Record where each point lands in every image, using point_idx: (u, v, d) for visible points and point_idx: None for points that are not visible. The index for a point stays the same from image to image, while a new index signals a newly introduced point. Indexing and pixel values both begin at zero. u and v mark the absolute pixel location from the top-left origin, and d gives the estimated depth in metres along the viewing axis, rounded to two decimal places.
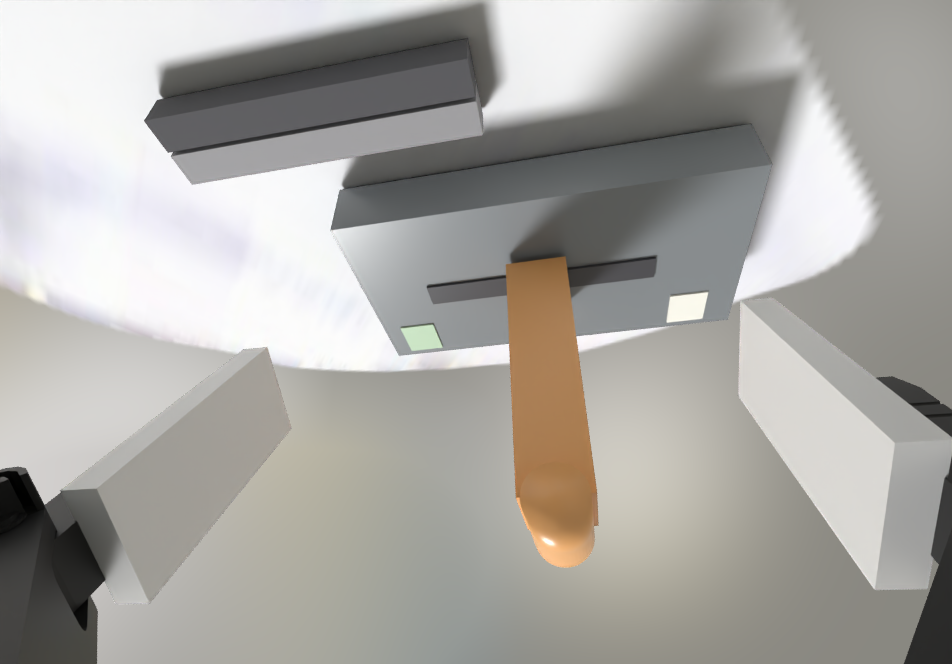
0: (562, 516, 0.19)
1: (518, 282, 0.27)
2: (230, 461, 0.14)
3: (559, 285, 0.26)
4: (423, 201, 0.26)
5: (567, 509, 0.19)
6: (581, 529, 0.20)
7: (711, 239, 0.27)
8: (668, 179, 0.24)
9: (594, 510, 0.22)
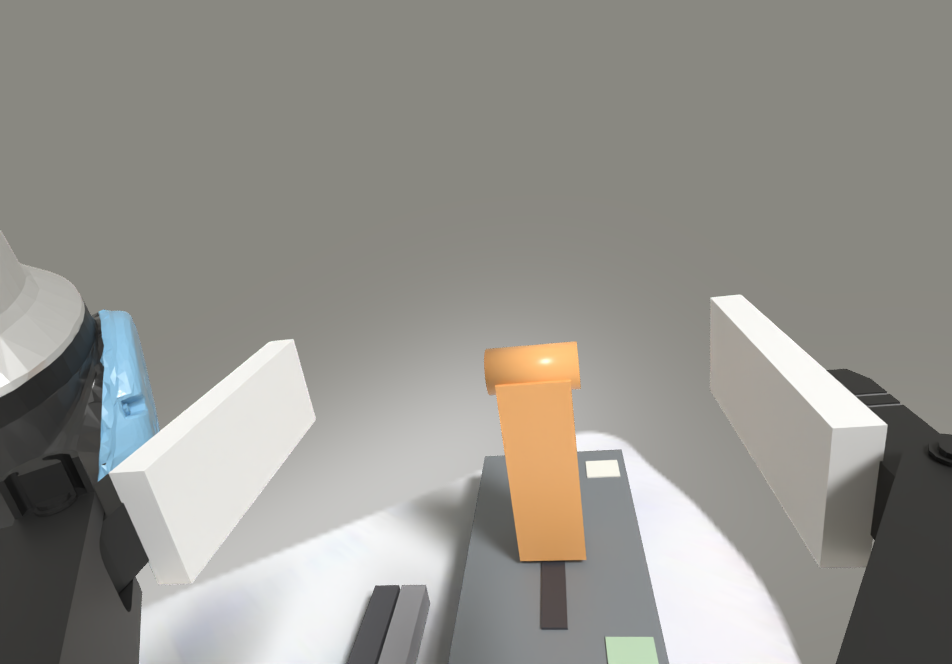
0: None
1: None
2: (261, 449, 0.14)
3: None
4: None
5: None
6: None
7: None
8: (479, 489, 0.41)
9: None
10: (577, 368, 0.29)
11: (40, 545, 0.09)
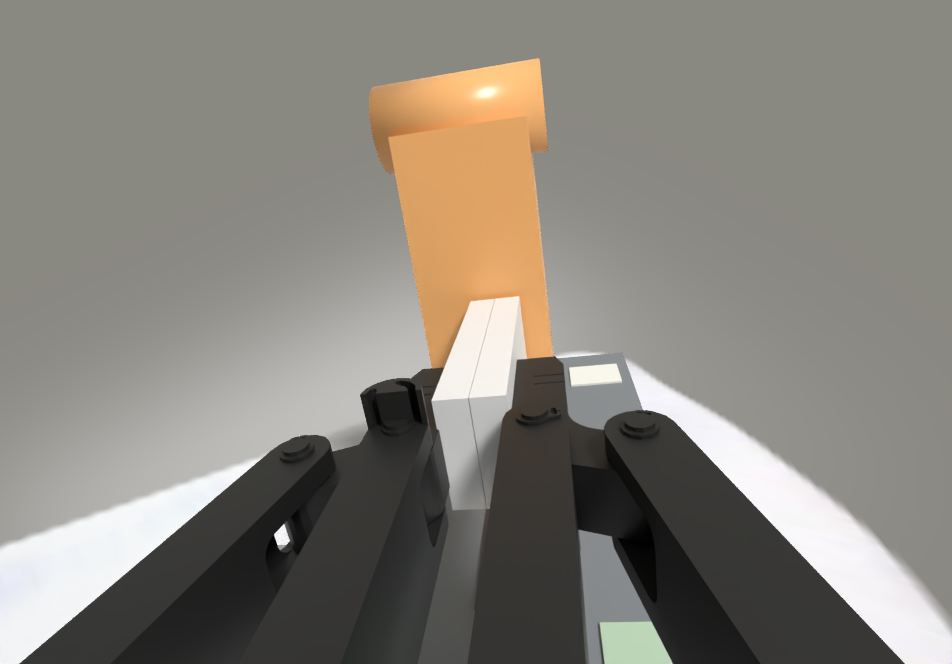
0: None
1: None
2: None
3: None
4: None
5: None
6: None
7: None
8: None
9: None
10: (539, 90, 0.15)
11: (378, 464, 0.09)
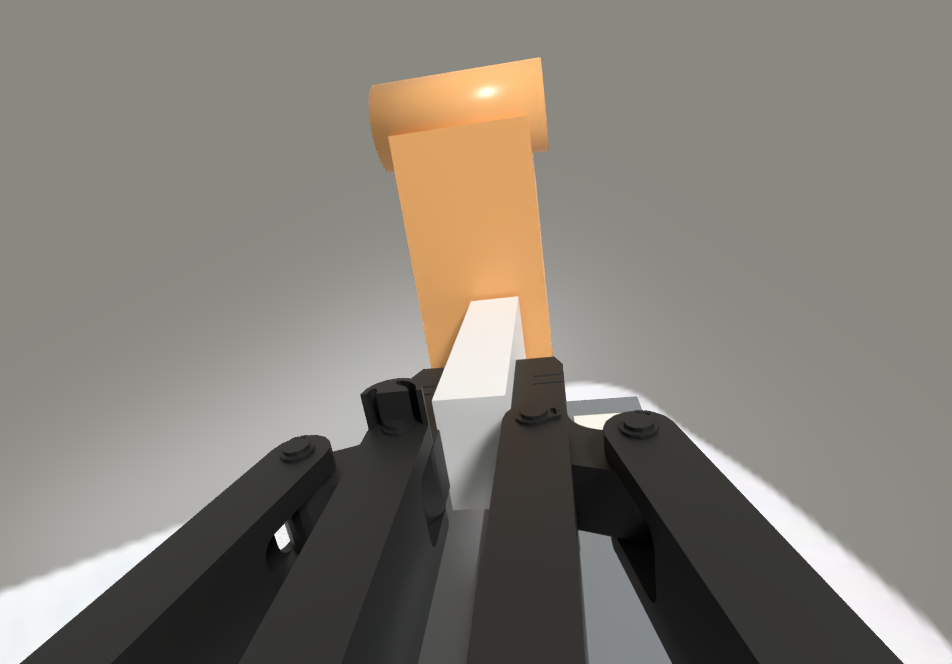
0: None
1: None
2: None
3: None
4: None
5: None
6: None
7: None
8: None
9: None
10: (540, 90, 0.15)
11: (378, 464, 0.09)
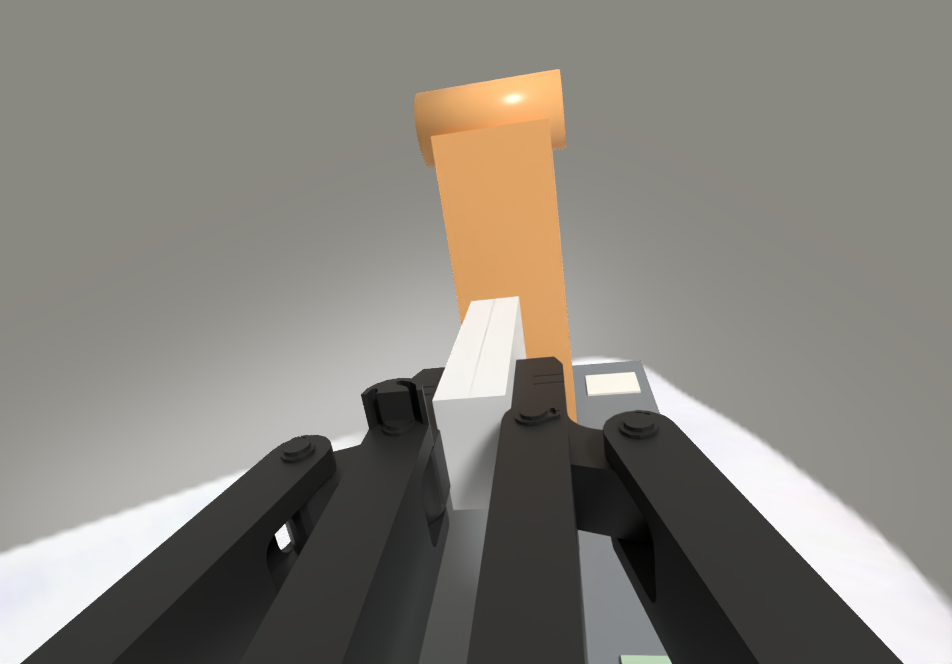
0: None
1: None
2: None
3: None
4: None
5: None
6: None
7: None
8: None
9: None
10: (559, 97, 0.18)
11: (379, 464, 0.09)
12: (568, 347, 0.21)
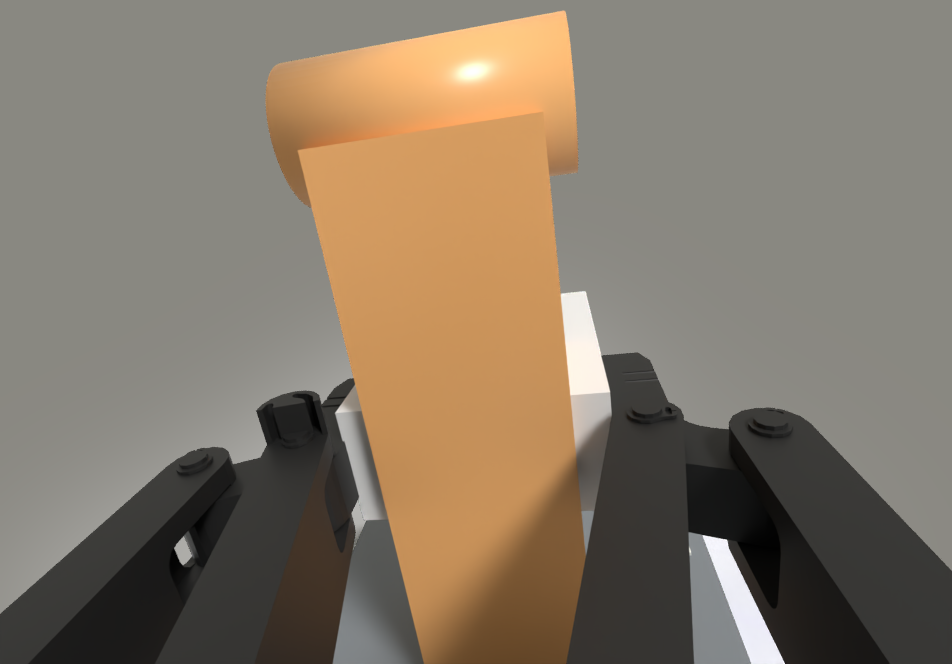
0: None
1: None
2: None
3: None
4: None
5: None
6: None
7: None
8: None
9: None
10: (566, 66, 0.08)
11: (279, 476, 0.10)
12: (581, 540, 0.11)
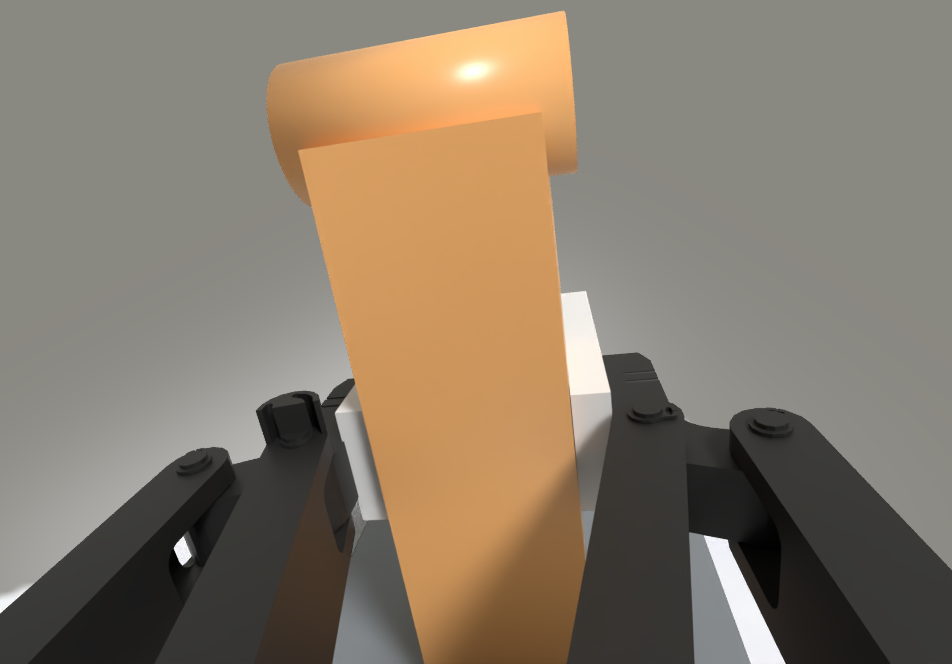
0: None
1: None
2: None
3: None
4: None
5: None
6: None
7: None
8: None
9: None
10: (565, 66, 0.08)
11: (279, 476, 0.10)
12: (580, 540, 0.11)
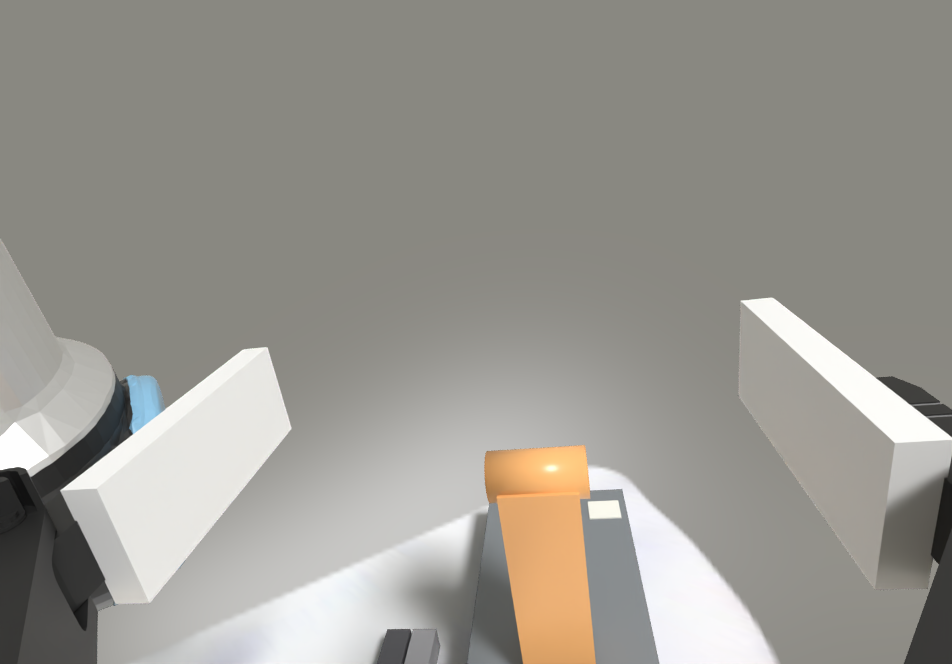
0: None
1: None
2: (230, 461, 0.14)
3: None
4: None
5: None
6: (500, 450, 0.28)
7: None
8: None
9: None
10: (587, 480, 0.26)
11: None
12: (590, 622, 0.29)
